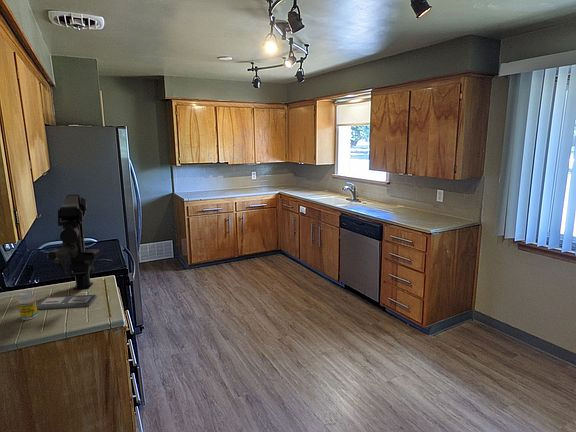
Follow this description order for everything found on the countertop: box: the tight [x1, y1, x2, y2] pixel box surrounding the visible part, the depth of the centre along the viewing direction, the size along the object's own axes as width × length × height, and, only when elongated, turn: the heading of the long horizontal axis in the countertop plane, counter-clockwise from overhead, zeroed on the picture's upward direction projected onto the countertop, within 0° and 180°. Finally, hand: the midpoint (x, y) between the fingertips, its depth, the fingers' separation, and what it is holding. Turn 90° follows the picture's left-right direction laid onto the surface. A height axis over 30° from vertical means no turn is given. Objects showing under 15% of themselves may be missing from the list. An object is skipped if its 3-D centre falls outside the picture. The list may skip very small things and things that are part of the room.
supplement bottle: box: [17, 290, 38, 321], centre depth 142 cm, size 5×5×10 cm
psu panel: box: [36, 294, 98, 310], centre depth 154 cm, size 9×20×2 cm, turn 98°
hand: (76, 274), depth 153 cm, fingers open, 9 cm apart
